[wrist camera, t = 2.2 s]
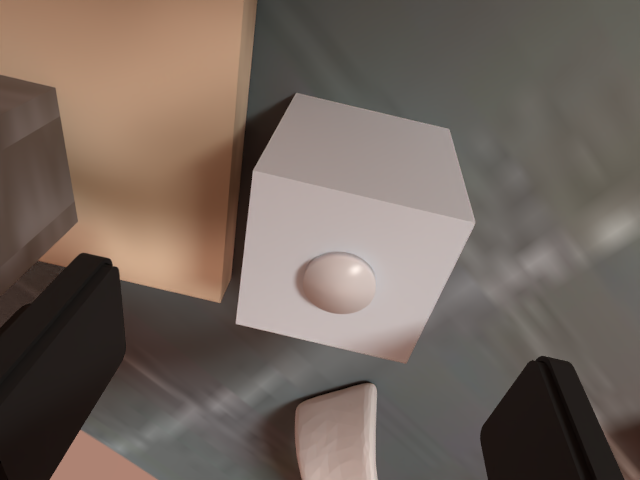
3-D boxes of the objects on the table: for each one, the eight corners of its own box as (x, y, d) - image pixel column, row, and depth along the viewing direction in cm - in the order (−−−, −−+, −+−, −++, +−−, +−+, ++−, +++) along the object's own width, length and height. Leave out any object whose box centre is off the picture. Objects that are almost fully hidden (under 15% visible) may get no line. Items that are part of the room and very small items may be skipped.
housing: (296, 91, 14) (249, 176, 9) (448, 128, 14) (477, 230, 9) (275, 219, 17) (232, 331, 12) (402, 249, 17) (406, 372, 12)
